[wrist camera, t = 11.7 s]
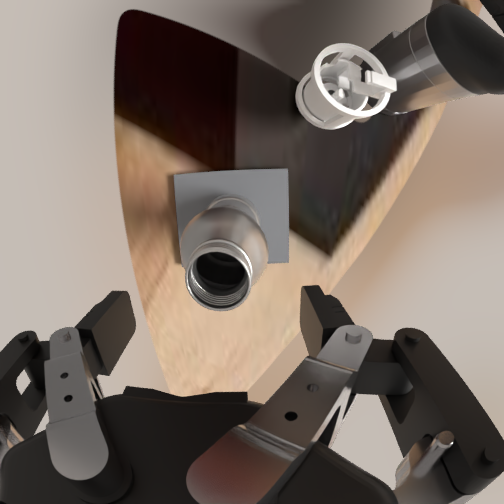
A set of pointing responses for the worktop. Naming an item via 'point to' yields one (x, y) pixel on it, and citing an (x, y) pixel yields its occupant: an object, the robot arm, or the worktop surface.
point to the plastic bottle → (224, 252)
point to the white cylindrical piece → (342, 88)
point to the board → (249, 186)
